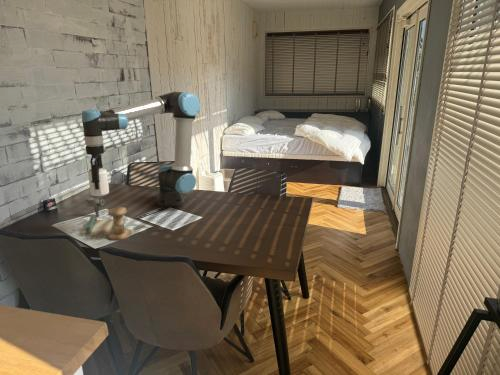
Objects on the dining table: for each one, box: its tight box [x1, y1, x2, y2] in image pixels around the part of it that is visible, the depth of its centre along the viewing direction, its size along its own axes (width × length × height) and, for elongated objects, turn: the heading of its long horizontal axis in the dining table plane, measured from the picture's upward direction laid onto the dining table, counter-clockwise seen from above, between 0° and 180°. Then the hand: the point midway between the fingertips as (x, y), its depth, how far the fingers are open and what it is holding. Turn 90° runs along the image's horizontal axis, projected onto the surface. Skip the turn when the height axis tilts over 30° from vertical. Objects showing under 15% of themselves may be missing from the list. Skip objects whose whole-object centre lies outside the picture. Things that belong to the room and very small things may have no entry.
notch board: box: [84, 214, 125, 237], centre depth 172 cm, size 16×16×4 cm
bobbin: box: [107, 206, 132, 241], centre depth 162 cm, size 10×10×13 cm
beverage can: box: [87, 167, 110, 197], centre depth 162 cm, size 8×8×12 cm
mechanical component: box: [85, 197, 106, 218], centre depth 185 cm, size 3×10×10 cm, turn 79°
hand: (100, 192), depth 163 cm, fingers closed on beverage can, 8 cm apart
